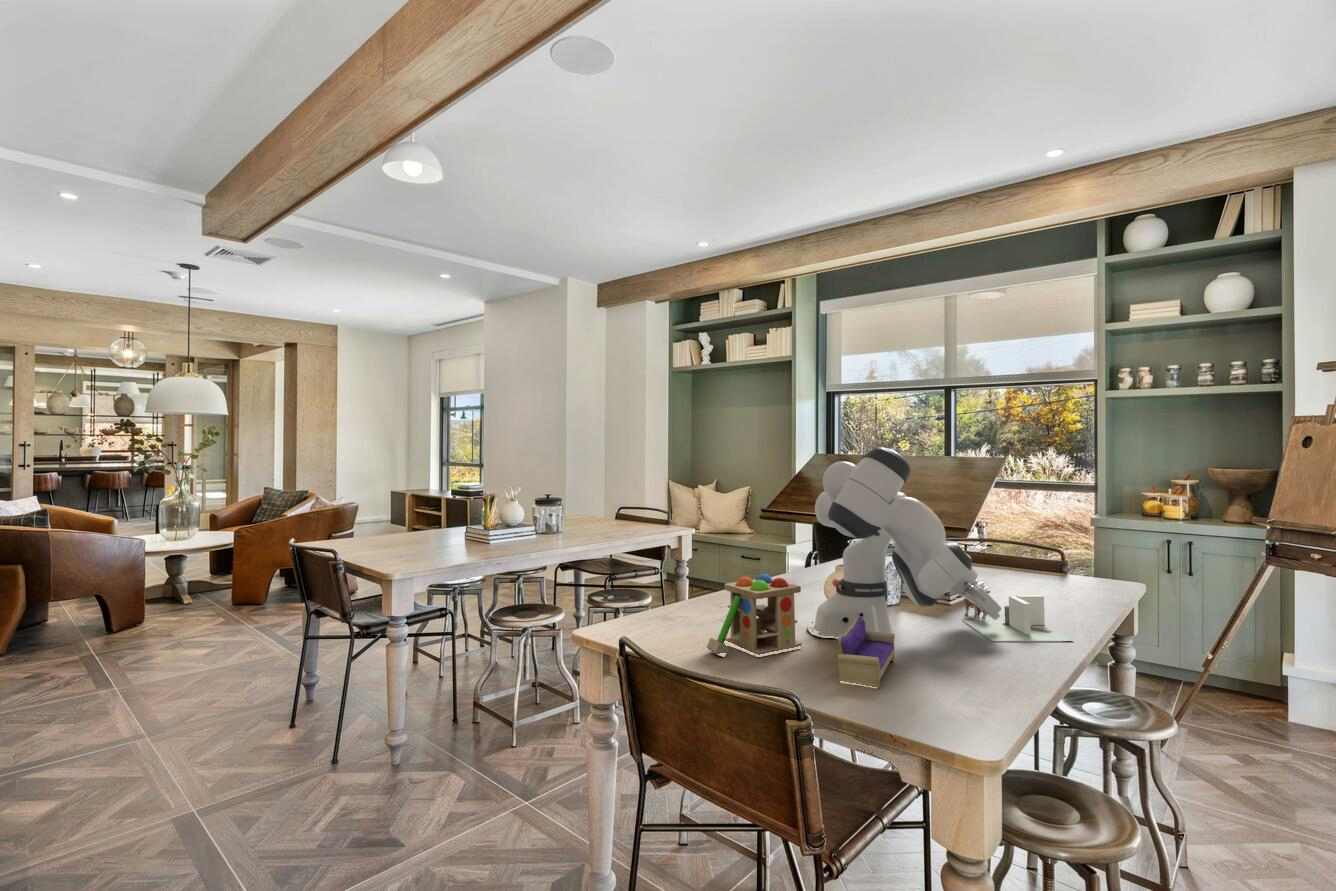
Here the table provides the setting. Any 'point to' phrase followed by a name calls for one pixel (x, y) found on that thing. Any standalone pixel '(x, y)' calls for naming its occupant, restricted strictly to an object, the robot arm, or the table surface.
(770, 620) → the pounding bench toy
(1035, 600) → the fixed rail
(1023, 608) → the white rectangular slab
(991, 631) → the mat
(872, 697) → the table surface
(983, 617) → the bull figurine
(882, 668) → the toy sofa
